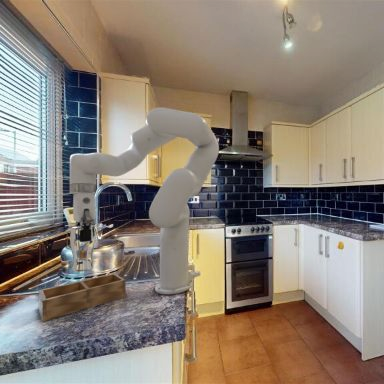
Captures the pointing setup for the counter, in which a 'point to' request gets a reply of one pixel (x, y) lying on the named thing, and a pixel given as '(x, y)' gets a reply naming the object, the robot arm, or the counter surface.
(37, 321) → the counter surface
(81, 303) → the holder
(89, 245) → the beer glass
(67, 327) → the counter surface
